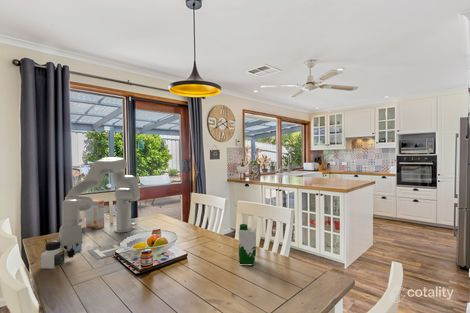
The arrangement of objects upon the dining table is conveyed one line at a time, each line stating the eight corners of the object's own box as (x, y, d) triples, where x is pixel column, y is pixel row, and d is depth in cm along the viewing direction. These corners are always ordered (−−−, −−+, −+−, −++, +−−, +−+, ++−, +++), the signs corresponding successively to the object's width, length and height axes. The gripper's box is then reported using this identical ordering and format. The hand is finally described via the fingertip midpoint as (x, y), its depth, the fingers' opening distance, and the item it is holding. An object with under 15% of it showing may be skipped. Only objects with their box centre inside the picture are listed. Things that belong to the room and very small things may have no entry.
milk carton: (240, 258, 137) (240, 222, 137) (256, 260, 136) (257, 223, 135) (237, 265, 129) (237, 227, 129) (254, 267, 127) (255, 228, 127)
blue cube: (78, 247, 152) (78, 237, 152) (81, 250, 148) (81, 240, 148) (67, 250, 148) (67, 240, 148) (69, 253, 144) (69, 242, 143)
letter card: (119, 243, 160) (119, 242, 160) (130, 250, 148) (130, 250, 148) (87, 251, 147) (87, 250, 147) (97, 259, 135) (97, 259, 135)
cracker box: (104, 227, 194) (104, 200, 194) (97, 229, 188) (97, 201, 188) (92, 224, 200) (92, 198, 200) (85, 226, 194) (85, 199, 194)
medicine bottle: (54, 268, 124) (54, 244, 124) (40, 268, 124) (40, 244, 124) (64, 262, 131) (64, 239, 131) (51, 262, 131) (51, 239, 131)
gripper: (84, 218, 141) (84, 251, 141) (52, 224, 130) (52, 259, 130) (88, 221, 136) (88, 255, 136) (55, 227, 125) (55, 263, 125)
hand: (70, 257), depth 133 cm, fingers closed
